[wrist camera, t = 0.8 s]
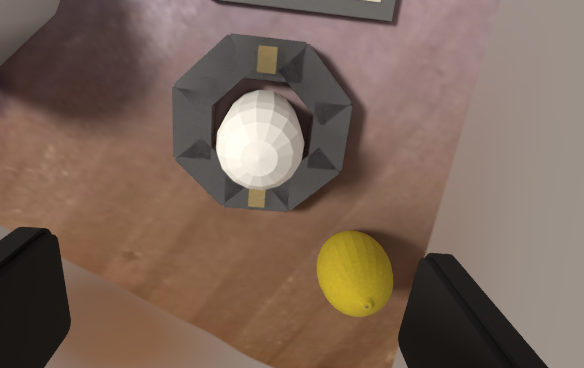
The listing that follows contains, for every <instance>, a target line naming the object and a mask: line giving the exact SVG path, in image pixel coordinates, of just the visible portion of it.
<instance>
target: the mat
mask: <svg viewBox="0 0 584 368" xmlns="http://www.w3.org/2000/svg"><path fill="white" fill-rule="evenodd" d="M218 1H226V2H234V3H242V4H250V5H258V6H267V7H275V8H283V9H291V10H299V11H307V12H315V13H323V14H331V15H339V16H347V17H356V18H364V19H372V20H380V21H388V22H390V21H392V17H393V12H394V7H395V2H396V0H218Z"/></svg>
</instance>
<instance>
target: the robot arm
mask: <svg viewBox="0 0 584 368" xmlns="http://www.w3.org/2000/svg"><path fill="white" fill-rule="evenodd" d="M70 324H71V318H70V312H69V305H68V299H67V294H66V286H65V280H64V274H63V268H62V261H61V255H60V249H59V243H58V238H57V237H56V236H55V235H52V234H51V232H50V231H49V230H48V229H46V228H33V227H19V228H17V229H15V230H14V231H12V232H11V233H10V234H8V235H7V236H5V237H4V238H3V239H1V240H0V368H44V367H45V366H46V364H47V362H48V361H49V360H50V358H51V357H52V355H53V354H54V353H55V351H56V350H57V348H58V347H59V345H60V344H61V343H62V341H63V340H64V338H65V337H66V335H67V334H68V331H69V329H70ZM398 341H399V347H400V350H401V352H402V354H403V357H404V359H405V362H406V364H407V366H408V368H548V367H547V366H546V364H545V363H544V362H543V361H542V360H541V359H540V358H539V356H538V355H537V354H536V353H535V352H534V350H533V349H532V348H531V347H530V346H529V344H528V343H527V342H526V341H525V340H524V339H523V337H522V336H521V335H520V334H519V333H518V332H517V330H516V329H515V328H514V327H513V326H512V324H511V323H510V322H509V321H508V320H507V319H506V317H505V316H504V315H503V314H502V313H501V312H500V310H499V309H498V308H497V307H496V306H495V304H494V303H493V302H492V301H491V300H490V299H489V297H488V296H487V295H486V294H485V293H484V291H482V289H481V288H480V287H479V286H478V284H477V283H476V282H475V281H474V280H473V279H472V277H471V276H470V275H469V274H468V273H467V271H466V270H465V269H464V268H463V267H462V266H461V264H460V263H459V262H458V261H457V260H456V259H455V257H454V256H452V255H451V254H439V253H429V254H427V256H426V257H425V258H421V260H420V261H419V264H418V268H417V271H416V275H415V278H414V282H413V285H412V289H411V292H410V296H409V299H408V303H407V306H406V310H405V313H404V317H403V320H402V324H401V327H400V331H399V335H398Z"/></svg>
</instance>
